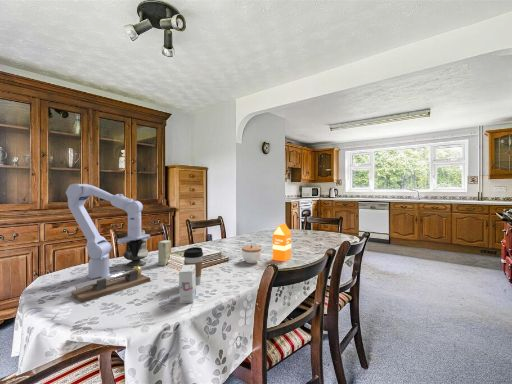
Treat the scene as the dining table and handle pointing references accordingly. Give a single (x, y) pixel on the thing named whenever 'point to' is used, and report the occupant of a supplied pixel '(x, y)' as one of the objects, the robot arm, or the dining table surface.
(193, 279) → the ink box
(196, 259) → the coffee cup
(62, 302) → the dining table surface
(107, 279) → the shaft
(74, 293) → the shaft frame
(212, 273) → the dining table surface
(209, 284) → the dining table surface
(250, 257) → the lidded jar
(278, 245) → the orange juice
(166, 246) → the skincare box
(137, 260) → the apothecary jar
